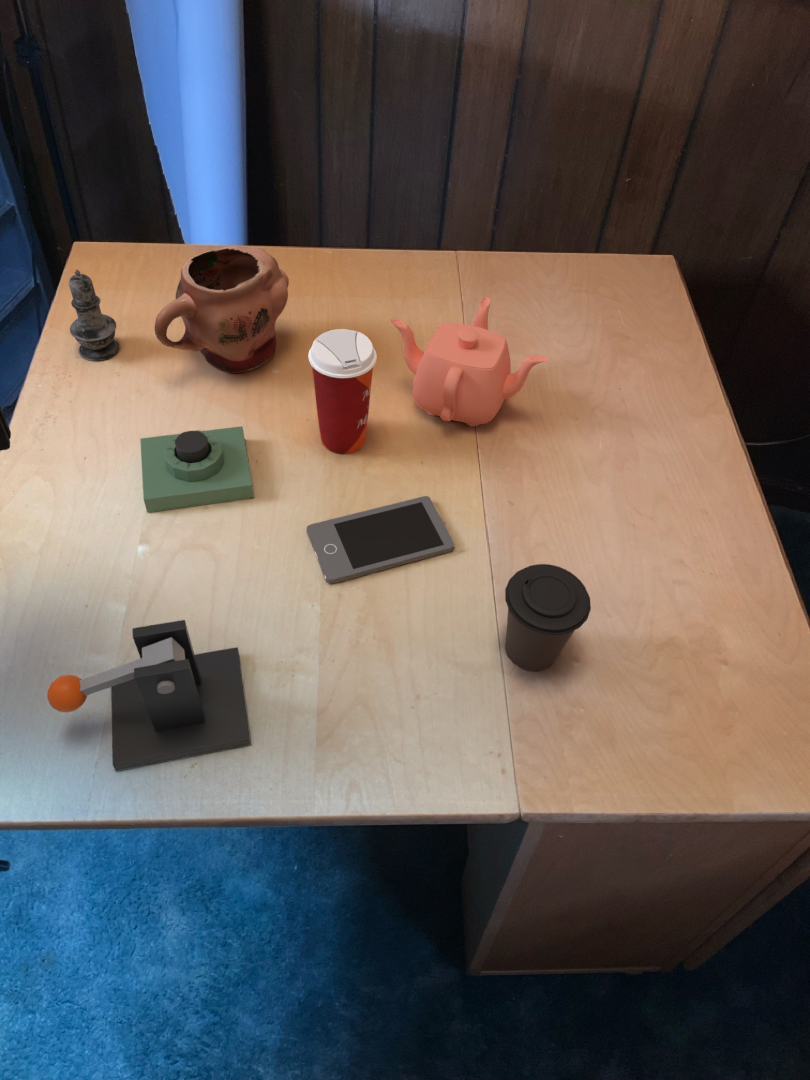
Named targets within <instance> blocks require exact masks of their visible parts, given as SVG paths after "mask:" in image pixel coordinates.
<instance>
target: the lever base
mask: <svg viewBox="0 0 810 1080" xmlns="http://www.w3.org/2000/svg"><path fill="white" fill-rule="evenodd" d="M131 630H132V639H133V642H134V645H135V648H136V650H137V653H138V655H139V659H141V658H142V648H143V647H145V646H148V645H151V644H154V643H157V642H160V641H162V640H165V639H168V638H171V637H172V638H173V639H174V640H175V641H176V642H177V643H178V644H179V645H180V646H181V647H182V648H183V649H184V651H185V660H179V661H173V662H168V663H162V664H156V665H150V666H145V667H139V668H134V679H132V680H129V681H126V682H124V683H121V684H118V685H115V686H112V687H110V690H111V691H110V692H111V693H110V695H111V745H112V746H111V747H112V748H111V750H112V751H111V753H112V754H111V755H112V767H113V768H114V771H115V772H118V771H119V772H120V771H124V770H129V769H135V768H138V767H139V768H140V767H144V766H149V765H153V764H159V763H164V762H169V761H175V760H179V759H184V758H185V759H186V758H189V757H194V756H199V755H200V756H201V755H205V754H210V753H215V752H220V751H225V750H230V749H231V750H232V749H235V748H241V747H246V746H250V745H252V740H251V735H250V734H251V733H250V726H249V719H248V712H247V703H246V696H245V689H244V681H243V672H242V667H241V665H242V664H241V660H240V651H239V647H238V646H236V647H230V648H225V649H219V650H212V651H207V652H202V653H195V651H194V648H193V644H192V640H191V637H190V633H189V629H188V625H187V622H186V620H185V619H181V620H175V621H168V622H162V623H156V624H150V625H145V626H138V627H133V628H132V629H131Z"/></svg>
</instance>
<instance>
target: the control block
mask: <svg viewBox="0 0 810 1080" xmlns="http://www.w3.org/2000/svg"><path fill="white" fill-rule="evenodd" d="M195 431H199V432H201V433H203V434H204V435H205V436H206V437H207V440H208V446H209V454H208V456H207V457H206V458H205V459H204V460H202V461H200V462H197V463H186V462H183V461H182V460H180V459H179V457H178V455H177V451H176V446H175V440H176V438H177V437H178V436H179V435H180V434H182V433H184V432H185V431H182V432H181V433H175V434H167V435H165V434H164V435H157V436H150V437H149V436H148V437H141V438H140V441H139V442H140V456H141V457H140V459H141V475H142V479H141V480H142V495H143V496H142V497H143V502H144V506H145V510H146V512H147V513H154V512H155V513H156V512H162V511H167V510H175V509H183V508H190V507H198V506H206V505H212V504H213V505H214V504H219V503H227V502H234V501H235V502H236V501H241V500H249V499H254V498H255V495H254V486H253V480H252V475H251V469H250V463H249V458H248V457H249V456H248V450H247V445H246V439H245V433H244V427H243V426H234V427H233V426H232V427H225V428H215V429H209V430H199V429H198V430H195Z"/></svg>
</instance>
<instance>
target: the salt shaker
mask: <svg viewBox="0 0 810 1080" xmlns="http://www.w3.org/2000/svg"><path fill="white" fill-rule="evenodd" d="M68 287H69V291H70V293H71V296H72V300H71V303H70V304H71V307H72V308H74V309H75V312H76V316H77V318H76V319H75V320H73V322H72V323H71V324H70V326H69V333H70V335H71V336H72V337H73V338H74V339H75V341H76V342H77V343H78V344H79V348H78V354H79V355H80V357H81V358H82V359H84V360H86V361H90V362H104V361H108V360H110V359H112V358H113V357H115V356H117V354H118V353H119V352H120V349H121V348H120V343H119V341H118V340H116V338H115V334H116V329H117V322H116V320H115V319H114V318H113V317H111V316H110V315H107V314H105V313H103V312H102V310H101V307H100V304H101V303H102V301H101V298H100V297H99V296H98V295H97V294H96V291H95V286H94V283H93V280H92V279H91V277H90V276H88V275H87V274H85V273H81V271H80V270H78V269H76V270H75V271H74V274H73V275H72V276H70V277H69V279H68Z"/></svg>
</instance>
